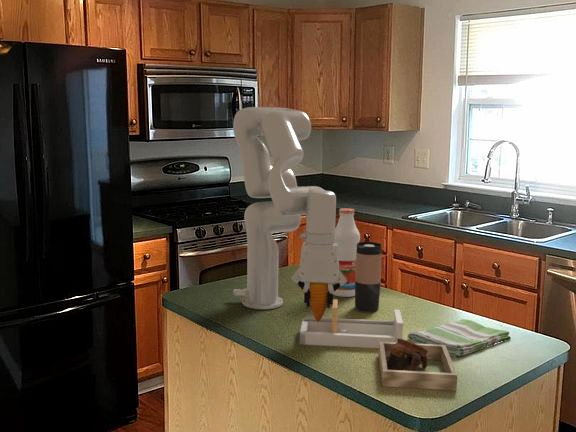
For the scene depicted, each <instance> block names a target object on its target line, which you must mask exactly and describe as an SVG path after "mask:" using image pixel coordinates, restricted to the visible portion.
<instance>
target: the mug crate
mask: <svg viewBox="0 0 576 432" xmlns="http://www.w3.org/2000/svg"><path fill="white" fill-rule="evenodd" d="M395 343H396V342H379V348H378V359H379V369H380V376H381V385H382V387H387V388H388V387H389V388H391V387H392V388H407V389H421V390H422V389H423V390H424V389H425V390H442V391H443V390H444V391H457V390H458V389H457V388H458V386H457V385H458V373H457V371H456V368H455V365H454V363H453V361H452V358H451V355H449V353H448V350H447V348H446V345H435V344H419V343H416V342H413V343H414V344H417V345H419V346H421V347H423V348H424V349H426V350H427V351H428V352H427V354H426V357H427V360H433V361H434V360H437V361H440V362H441V364H442V367H443V369H444V372H437V371H436V372H435V371H422V370H421V371H420V370H419V371H417V370H416V371H405V370H404V371H403V370H387V363H386V360H387V358H389V355H390V352H391V351H390V350H391V347H392V346H393V345H394V344H395ZM404 358H407V354H404Z"/></svg>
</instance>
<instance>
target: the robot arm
mask: <svg viewBox="0 0 576 432" xmlns="http://www.w3.org/2000/svg"><path fill="white" fill-rule="evenodd" d="M232 128H233V129H232V130H233V135H234V139H235V141H236V144H237V147H238V149H239V153H240V157H241V165H242V172H243V180H244V186H245V191H246V193H247V195H248V196H249V197H250V198H253V199H254V198H255V199H267V198H271V201H260V202H254V203H252V204H250V205H248V206H247V207H246V209H245V211H244V217H243V218H244V225H245V230H246V240H247V241H246V242H247V243H246V245H247V252H246V255H247V261H246V262H247V263H246V264H247V265H246V267H247V271H246V273H247V274H246V275H247V278H246V280H247V281H246V283H247V284H246V285H247V286H246V288H243V289H240V288H233V291H232V293H233V294H232V295H233V296H235V298H242V300H241V305H242V306H244V307H246V308H249V309H253V310H271V309H277V308H279V307H281V306H283V304H284V299H283V298H282V297H280V296H279V254H280V252H279V250H280V249H279V246H278V243H277V241H276V240H275V238H274V237H273V234H276V233H287V232H288V233H289V232H293V231H296V230H297V229H298V228H299V227H300V225H301V222H302V216H305V219H306V220H305V232H303V233H301V232H300V233H299V234H300V236H299V239H302V240H304V242H303V243H302V245H301V249H300V250H301V251H300V260H299V261H300V262H299V267H298V269H296V271H295V273H293V274H292V276H291V281H293V282H294V283H295V284H297V286H298V287H299V288H300V289H301V290H302V291H303V297H304V298H303V303H304V304H305V305H306V308H310V306H311V301H310V283H327V284H328V294H327V303H326V308H327V309H330V308H331V305H333V299H334V295H333V293H334V292H335V291H336V290H337V289H338V288H339V287H340V286H342V285H343V284H345V283H346V282H347V279H346V277H345V276H344V274H343V273H342V272H341V270H340V269H339V253H338V246H337V244H336V243H335V228H336V218H337V217H336V215H337V213H336V209H337V196H336V193H334V192H333V191H331V190H325V189H323V188H322V187H320V186H316V185H313V186H312V185H310V186H309V185H307V186H298V183H297V179H296V175H295V173H294V172H293V170H292V169H293V168H294V167H296V166H298V165H299V164H300V163H301V162H302V161H303V159H304V155H305V154H304V150H303V147H302V146H301V143H300V141H304V140H305V141H306V139H308V138H309V136H310V135H311V132H312V123H311V120H310V118H309V116H308V115H307V113H306V112H304V111H303V110H302V111H301V110H297V109H292V108H289V107H287V108H286V107H269V106H268V107H266V106H264V107H263V106H251V107H244V108H241V109H239V110H238V111H237V112H236V113H235V115H234V119H233V126H232ZM261 136H263V137H264V139H265V142H266V144H267V146H268V148H267V146H266V145H265V143H264V142H263V141H262V140H261V139H260V138H259V137H261ZM268 149H269V150H268ZM270 154H271V156H272V160H273V161H274V163H273V164H271V163H272V162H271V160H270V159H271V158H270ZM338 278H340V280H339V281H338ZM337 281H338V282H337ZM333 283H335V284H334V285H333Z"/></svg>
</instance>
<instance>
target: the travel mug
mask: <svg viewBox="0 0 576 432" xmlns="http://www.w3.org/2000/svg"><path fill="white" fill-rule="evenodd" d="M382 247H383V245H382V243H379V242H375V241H359V243H357V250H356V272H355V296H354V308H355V310H357V311H359V312H363V313H373V312H374V313H375V312H378V311H379V307H380V295H381V279H382V277H381V276H382V275H381V274H382V250H383V248H382Z"/></svg>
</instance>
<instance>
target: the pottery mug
mask: <svg viewBox="0 0 576 432" xmlns="http://www.w3.org/2000/svg"><path fill="white" fill-rule="evenodd" d="M414 343H415V342H413V341H410V340H406V339H403V338H402V339H398V342H397V343H395V344H394V345H393V346H392V347H391V350H390V351H391V352H390V355H389V357H388V360H387V359H386V363H387V370H403V371H417V369H418V367H419V366H420V364H421V363H422V364H421V365H422V366H421V367H422V369H427V366H428V359H427V357H426V354H427V352H428V351H427V350H426V349H424V348H423V347H421V346H419V345H417V344H418V343H416V344H414ZM404 354H407V358H404Z"/></svg>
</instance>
